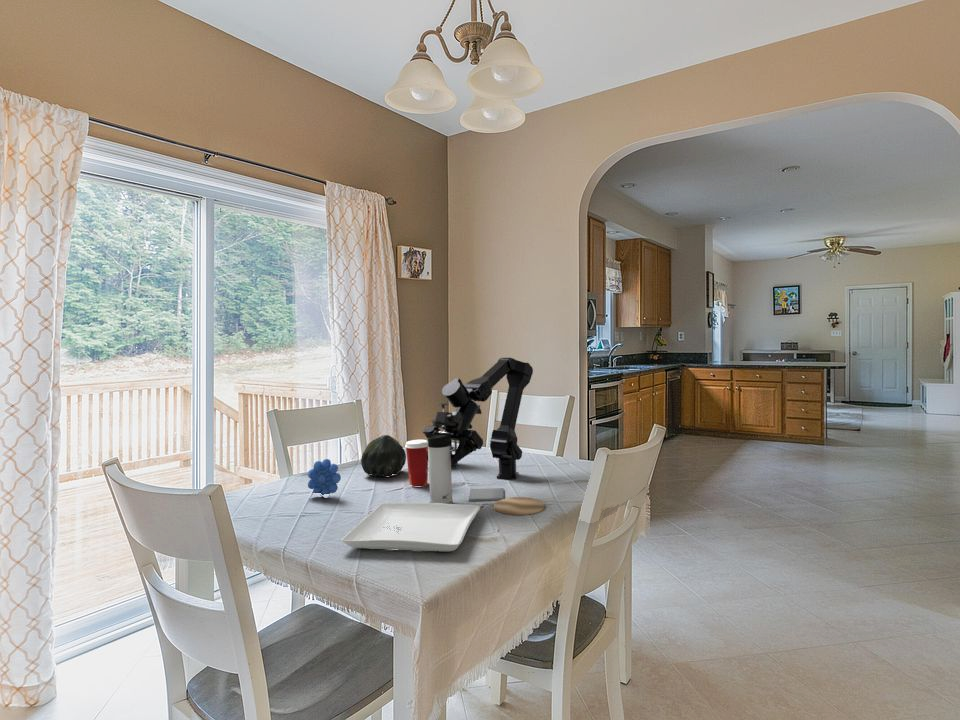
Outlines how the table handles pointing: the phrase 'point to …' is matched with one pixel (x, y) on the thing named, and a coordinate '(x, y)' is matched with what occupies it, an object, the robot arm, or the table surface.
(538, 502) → the cork trivet
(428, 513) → the square plate
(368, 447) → the squash
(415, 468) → the paper cup
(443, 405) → the french press
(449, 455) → the travel mug
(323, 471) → the blue lobed thick disc
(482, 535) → the table surface
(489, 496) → the stone coaster
